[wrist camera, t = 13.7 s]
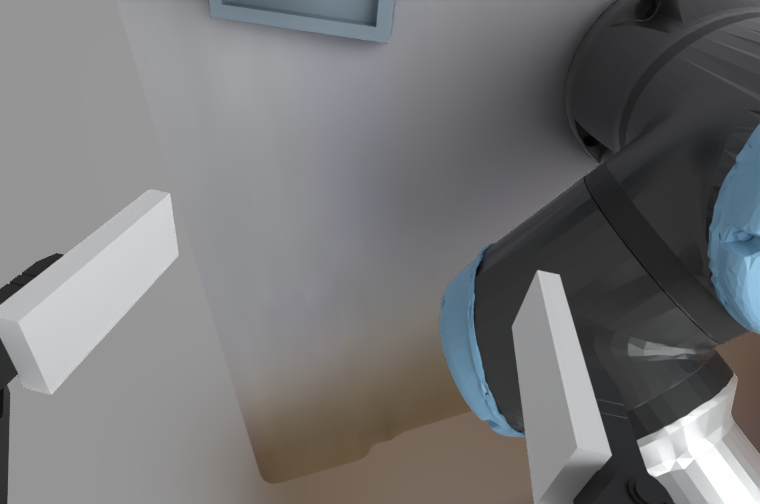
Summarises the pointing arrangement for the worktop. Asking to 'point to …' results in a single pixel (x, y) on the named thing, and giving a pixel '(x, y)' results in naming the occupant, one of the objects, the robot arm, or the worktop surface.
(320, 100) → the worktop surface
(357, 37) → the tray
